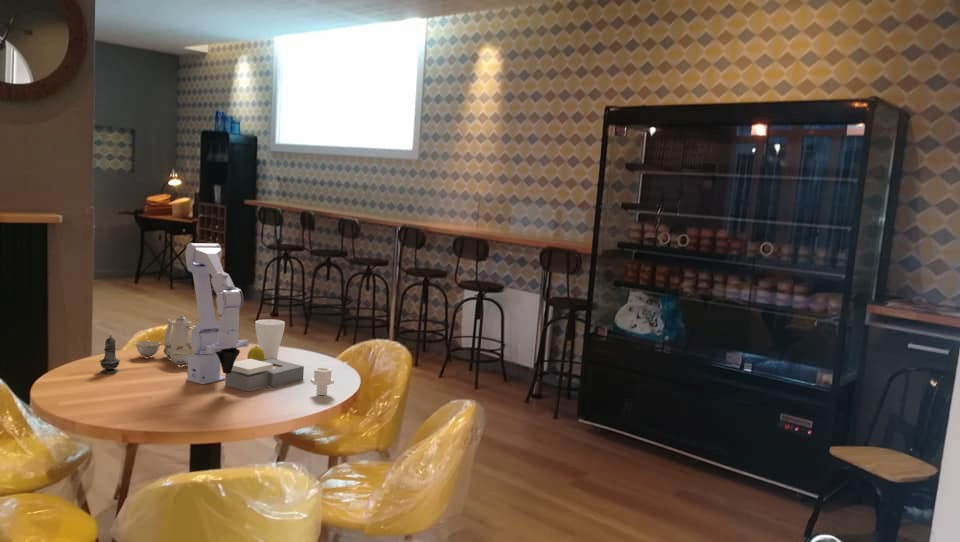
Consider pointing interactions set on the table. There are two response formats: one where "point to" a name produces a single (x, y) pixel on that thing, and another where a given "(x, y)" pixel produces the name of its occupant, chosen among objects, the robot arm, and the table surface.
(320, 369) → the pipe fitting
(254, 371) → the cream square tile
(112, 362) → the salt shaker
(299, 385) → the table surface
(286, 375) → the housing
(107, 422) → the table surface
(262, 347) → the cup
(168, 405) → the table surface
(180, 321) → the chinaware
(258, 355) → the lemon
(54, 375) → the table surface
